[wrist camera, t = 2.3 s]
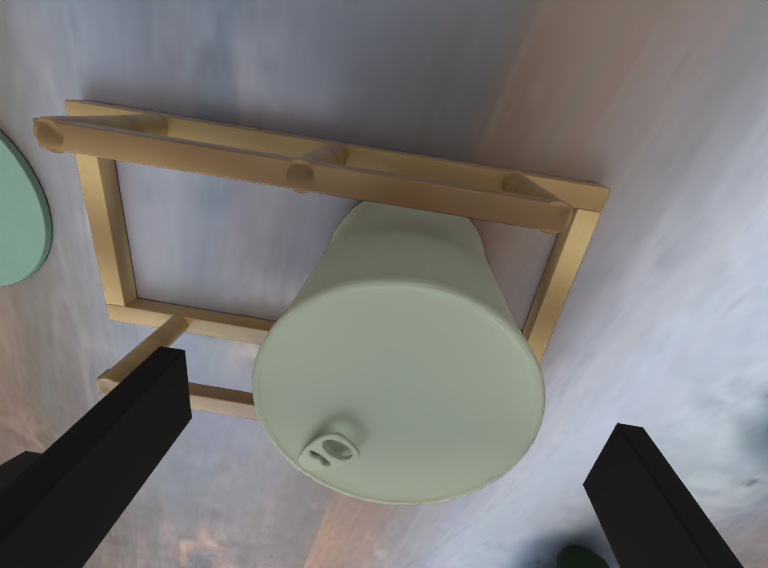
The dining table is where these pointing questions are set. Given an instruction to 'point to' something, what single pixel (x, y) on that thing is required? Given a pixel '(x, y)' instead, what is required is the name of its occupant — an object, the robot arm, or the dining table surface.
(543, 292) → the dish rack
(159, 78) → the dining table surface
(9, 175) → the coaster
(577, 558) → the toy figurine
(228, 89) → the dining table surface
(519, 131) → the dining table surface
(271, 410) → the can
